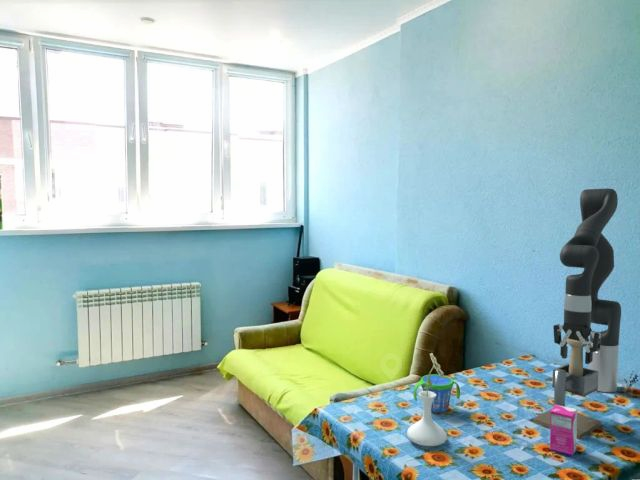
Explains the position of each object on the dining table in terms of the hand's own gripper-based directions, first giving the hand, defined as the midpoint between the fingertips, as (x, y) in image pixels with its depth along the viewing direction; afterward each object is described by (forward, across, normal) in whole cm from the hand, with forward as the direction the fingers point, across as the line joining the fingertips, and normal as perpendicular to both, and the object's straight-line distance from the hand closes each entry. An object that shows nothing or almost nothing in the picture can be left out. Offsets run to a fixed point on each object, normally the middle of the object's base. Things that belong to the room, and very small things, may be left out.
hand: (575, 360), depth 149 cm
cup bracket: (+19, 0, +4) cm, 20 cm away
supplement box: (+19, -7, +22) cm, 30 cm away
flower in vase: (+19, +20, +47) cm, 55 cm away
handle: (+8, 0, 0) cm, 8 cm away
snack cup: (+19, +32, +28) cm, 47 cm away
